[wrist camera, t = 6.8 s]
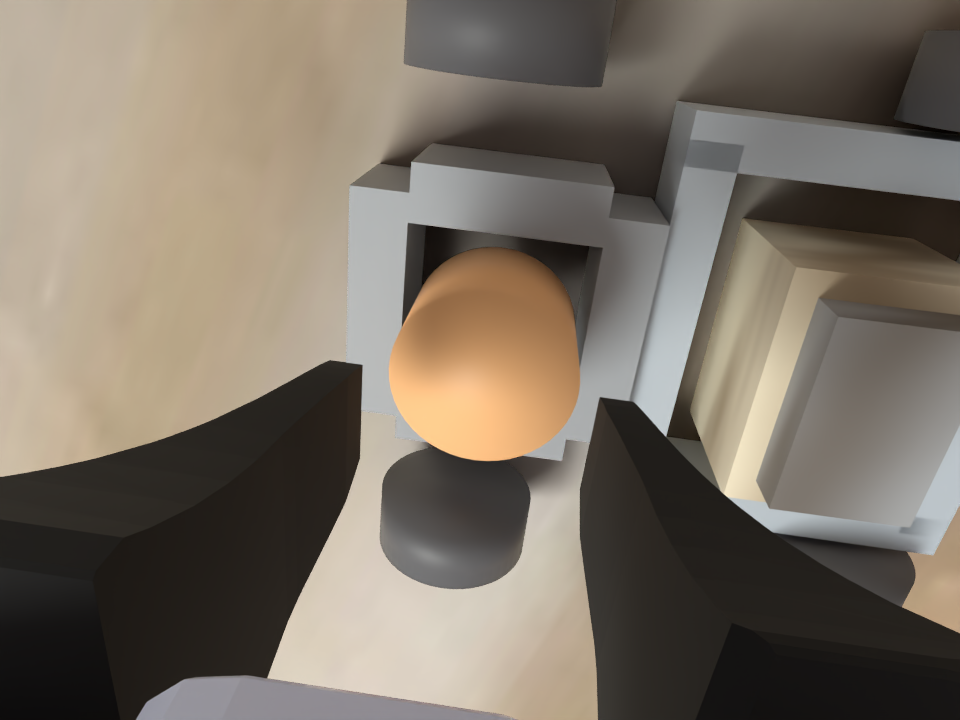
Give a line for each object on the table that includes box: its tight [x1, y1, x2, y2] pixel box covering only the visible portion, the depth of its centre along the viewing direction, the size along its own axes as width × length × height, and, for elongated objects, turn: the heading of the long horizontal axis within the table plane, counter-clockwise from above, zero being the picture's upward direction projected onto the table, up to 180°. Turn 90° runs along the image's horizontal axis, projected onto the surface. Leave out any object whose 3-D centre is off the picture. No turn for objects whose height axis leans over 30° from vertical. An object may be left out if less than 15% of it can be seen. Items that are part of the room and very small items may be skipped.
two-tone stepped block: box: [690, 218, 960, 528], centre depth 17 cm, size 4×6×6 cm
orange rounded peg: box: [389, 247, 580, 461], centre depth 16 cm, size 4×4×4 cm
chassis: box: [346, 0, 960, 607], centre depth 17 cm, size 17×15×4 cm
